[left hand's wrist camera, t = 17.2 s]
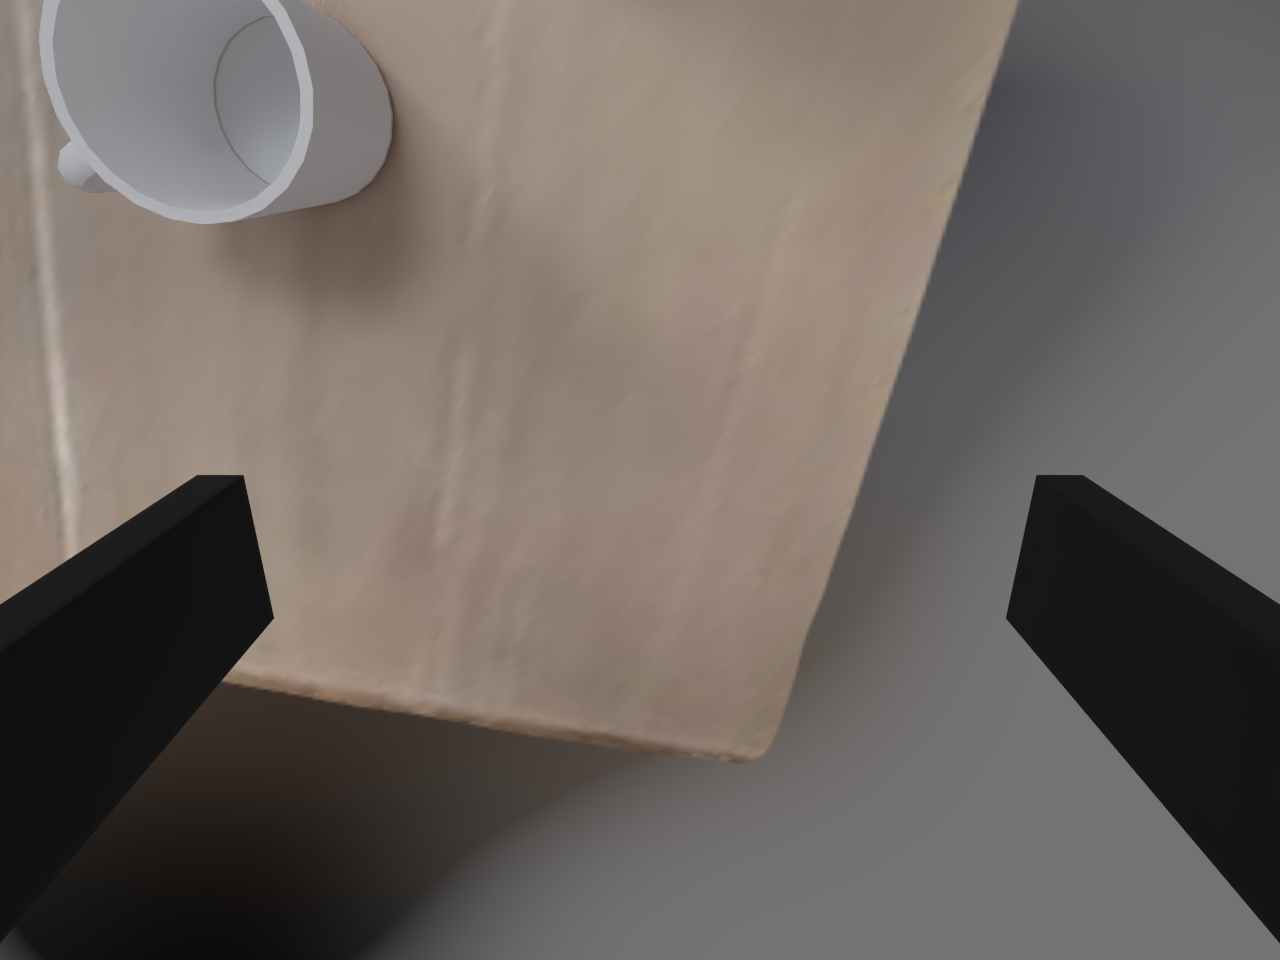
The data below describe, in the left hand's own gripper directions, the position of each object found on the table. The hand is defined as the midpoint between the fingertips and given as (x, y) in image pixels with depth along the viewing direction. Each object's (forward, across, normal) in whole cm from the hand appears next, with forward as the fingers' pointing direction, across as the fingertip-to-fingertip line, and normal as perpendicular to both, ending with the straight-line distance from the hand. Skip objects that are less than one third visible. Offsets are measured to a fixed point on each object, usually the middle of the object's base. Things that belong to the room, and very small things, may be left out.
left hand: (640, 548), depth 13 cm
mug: (+27, +16, -8) cm, 33 cm away
